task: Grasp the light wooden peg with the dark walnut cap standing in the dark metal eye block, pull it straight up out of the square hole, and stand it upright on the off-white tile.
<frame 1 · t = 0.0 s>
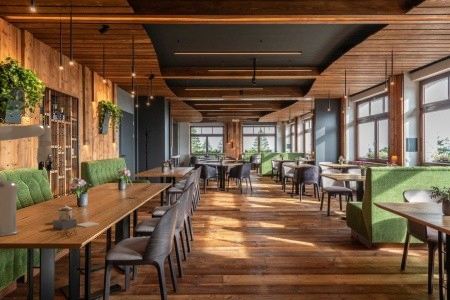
hand: (44, 170, 235), 37 cm above the table, tool pointing down, fingers open, 9 cm apart
teacup with lid: (67, 221, 249), on the table
peg: (64, 218, 231), in the eye block
tile: (87, 225, 237), on the table
eye block: (64, 227, 231), on the table
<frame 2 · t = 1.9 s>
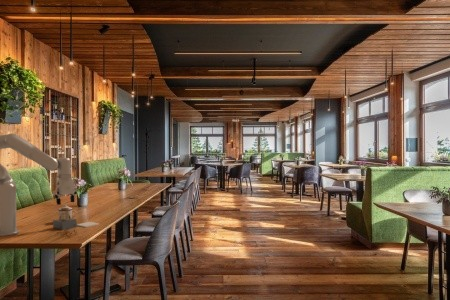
hand: (65, 203, 231), 16 cm above the table, tool pointing down, fingers open, 9 cm apart
nothing on the table moved.
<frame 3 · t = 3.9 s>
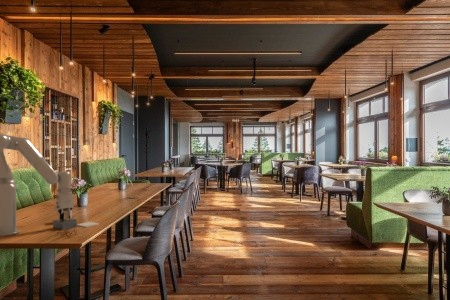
hand: (64, 218, 231), 6 cm above the table, tool pointing down, fingers closed on peg, 3 cm apart
peg: (64, 218, 230), in the eye block, touching gripper
everything else where it was.
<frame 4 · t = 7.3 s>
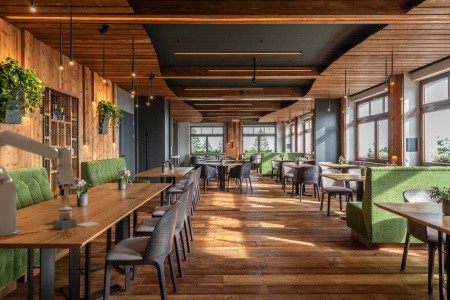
hand: (65, 194, 230), 21 cm above the table, tool pointing down, fingers closed on peg, 3 cm apart
peg: (65, 194, 230), point 22 cm above the table, touching gripper
everything else where it was.
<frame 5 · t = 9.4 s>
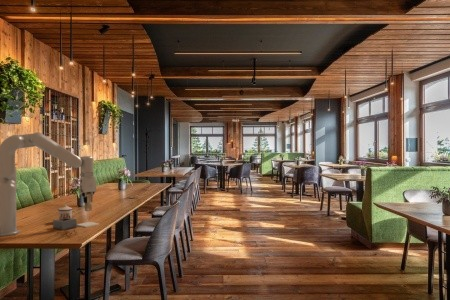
hand: (87, 202, 237), 15 cm above the table, tool pointing down, fingers closed on peg, 3 cm apart
peg: (87, 201, 237), point 16 cm above the table, touching gripper
everything else where it was.
when the fingers open (8 cm above the table, at t = 11.0 s): peg drops 1 cm, resting on tile.
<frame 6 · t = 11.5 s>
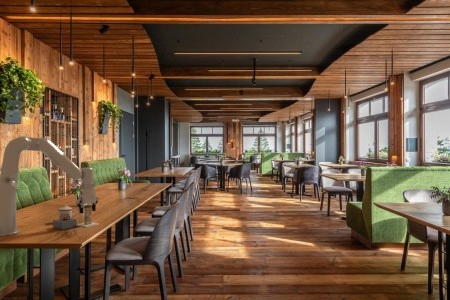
hand: (87, 212, 237), 9 cm above the table, tool pointing down, fingers open, 9 cm apart
peg: (87, 214, 237), on the tile, point 7 cm above the table
everything else where it was.
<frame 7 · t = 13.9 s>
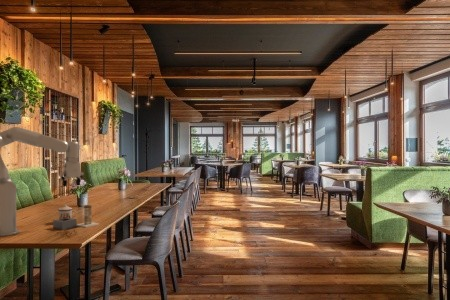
hand: (71, 185, 237), 26 cm above the table, tool pointing down, fingers open, 9 cm apart
nothing on the table moved.
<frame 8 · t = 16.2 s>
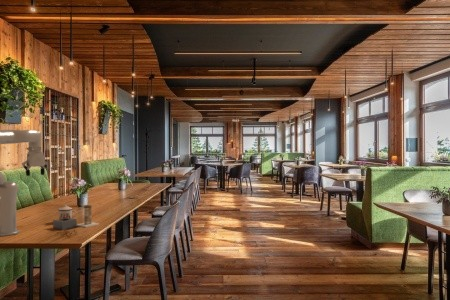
hand: (35, 175, 237), 33 cm above the table, tool pointing down, fingers open, 9 cm apart
nothing on the table moved.
at the end: peg inside the target area on the tile (0.2 cm from its centre), point 6.9 cm above the tile's base; peg tilted 0°; the gripper is holding nothing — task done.
